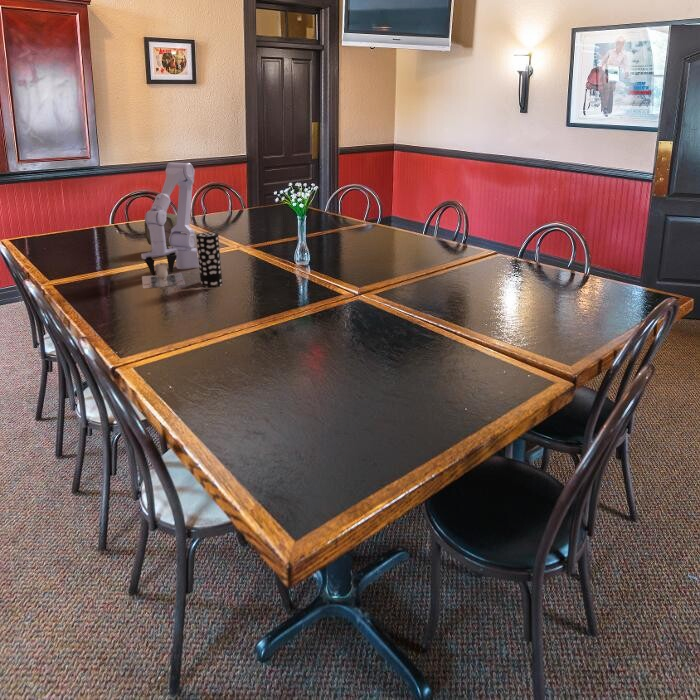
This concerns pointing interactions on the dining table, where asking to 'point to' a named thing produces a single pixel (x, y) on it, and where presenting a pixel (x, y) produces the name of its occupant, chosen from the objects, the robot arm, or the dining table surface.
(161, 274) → the knob
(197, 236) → the white-spotted black cylinder
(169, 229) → the tabletop clock
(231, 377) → the dining table surface
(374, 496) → the dining table surface
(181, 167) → the robot arm
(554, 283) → the dining table surface
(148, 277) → the hub plate
